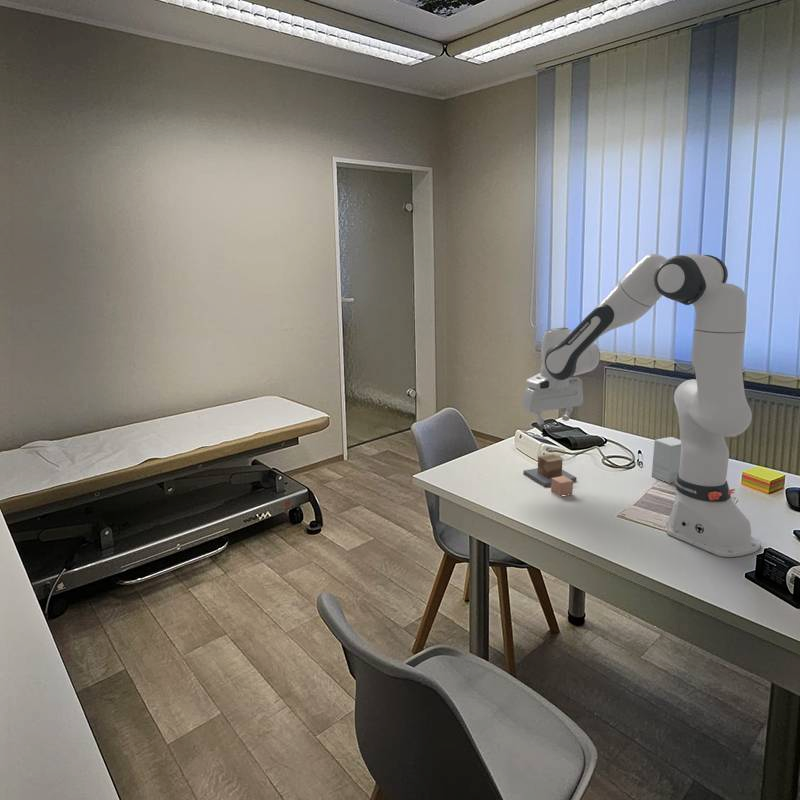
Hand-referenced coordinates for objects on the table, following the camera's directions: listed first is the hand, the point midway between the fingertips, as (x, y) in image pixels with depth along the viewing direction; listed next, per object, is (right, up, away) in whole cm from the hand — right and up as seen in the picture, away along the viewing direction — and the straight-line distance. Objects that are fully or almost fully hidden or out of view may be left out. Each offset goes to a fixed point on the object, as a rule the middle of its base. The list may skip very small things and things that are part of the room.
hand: (553, 422), depth 193 cm
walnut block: (0, -17, +5) cm, 18 cm away
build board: (0, -18, +5) cm, 19 cm away
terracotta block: (+1, -21, -7) cm, 23 cm away
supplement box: (+38, -18, +3) cm, 42 cm away
